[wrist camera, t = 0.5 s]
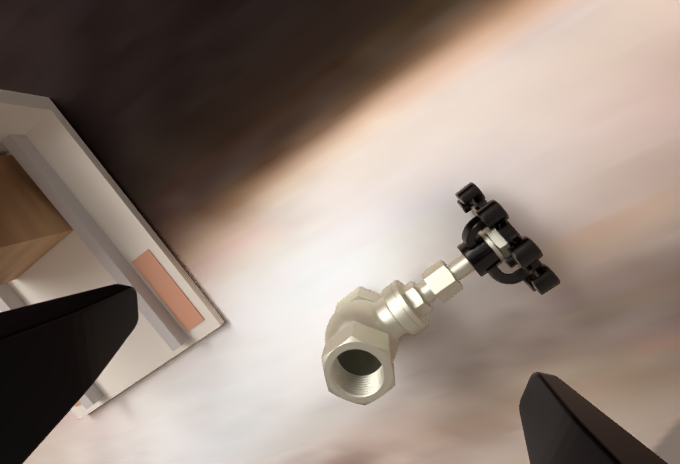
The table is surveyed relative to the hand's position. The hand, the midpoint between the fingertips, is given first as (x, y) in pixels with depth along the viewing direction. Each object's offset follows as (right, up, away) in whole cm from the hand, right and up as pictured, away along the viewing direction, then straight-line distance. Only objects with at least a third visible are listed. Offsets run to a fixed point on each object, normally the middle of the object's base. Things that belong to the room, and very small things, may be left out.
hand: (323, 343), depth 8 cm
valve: (+5, 0, +15) cm, 15 cm away
